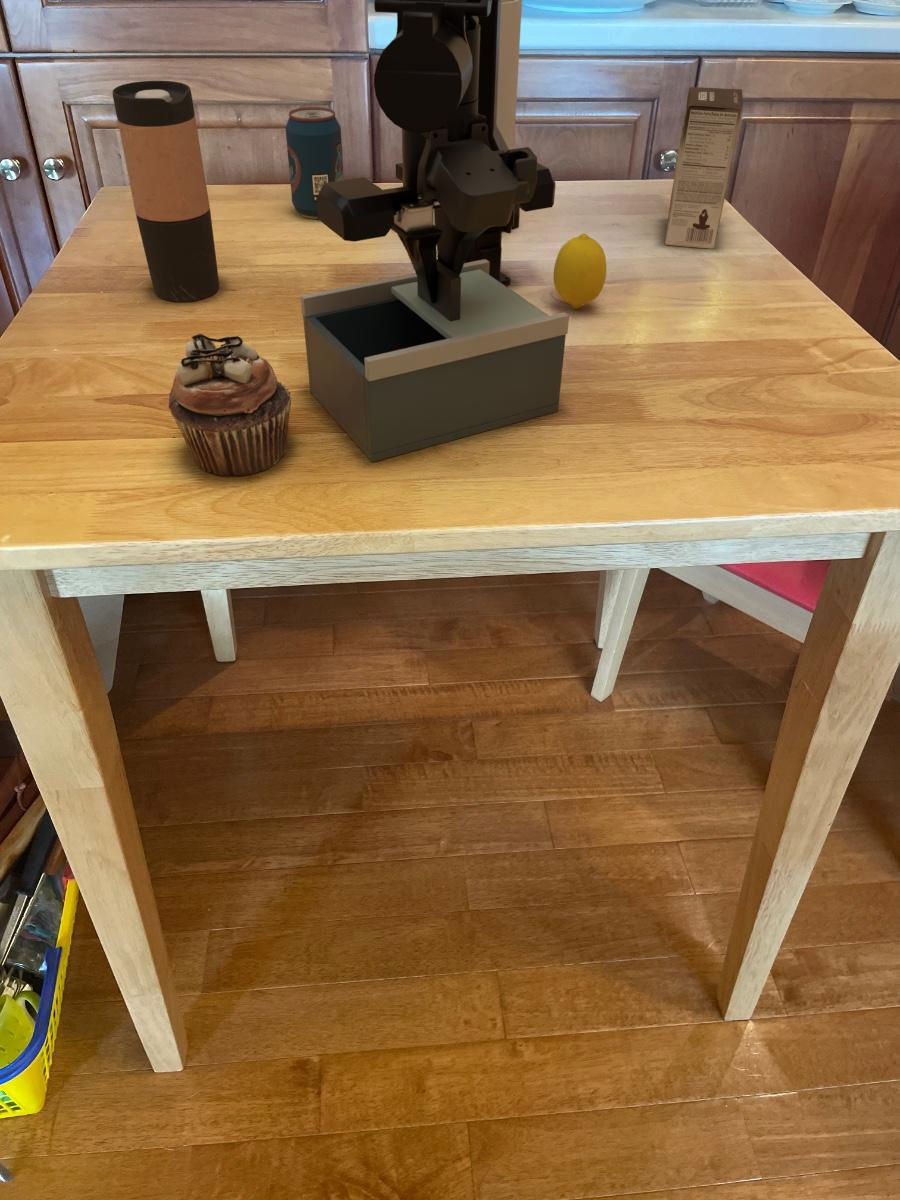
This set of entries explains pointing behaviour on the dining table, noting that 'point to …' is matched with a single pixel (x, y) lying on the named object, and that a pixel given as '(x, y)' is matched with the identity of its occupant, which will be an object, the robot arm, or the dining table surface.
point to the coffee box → (703, 165)
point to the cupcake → (230, 407)
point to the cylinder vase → (507, 70)
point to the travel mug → (168, 187)
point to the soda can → (312, 155)
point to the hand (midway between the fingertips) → (438, 300)
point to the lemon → (580, 271)
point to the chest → (424, 369)
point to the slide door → (466, 303)
